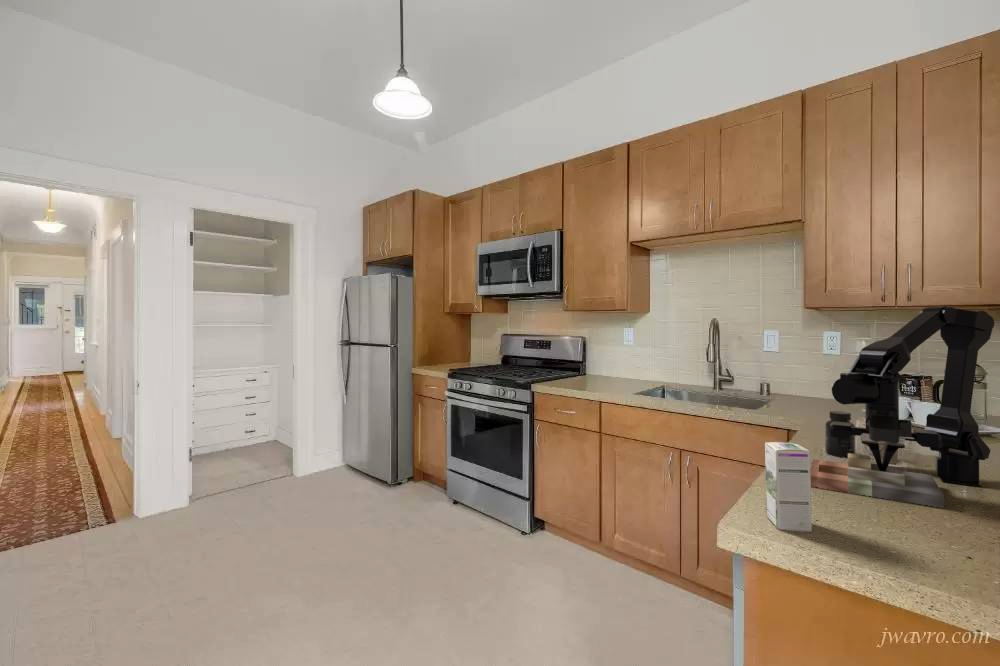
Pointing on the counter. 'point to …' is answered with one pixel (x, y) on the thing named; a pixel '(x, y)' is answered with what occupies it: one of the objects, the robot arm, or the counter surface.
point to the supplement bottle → (839, 445)
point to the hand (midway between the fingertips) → (882, 472)
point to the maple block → (859, 461)
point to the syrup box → (788, 486)
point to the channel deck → (877, 482)
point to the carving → (868, 452)
